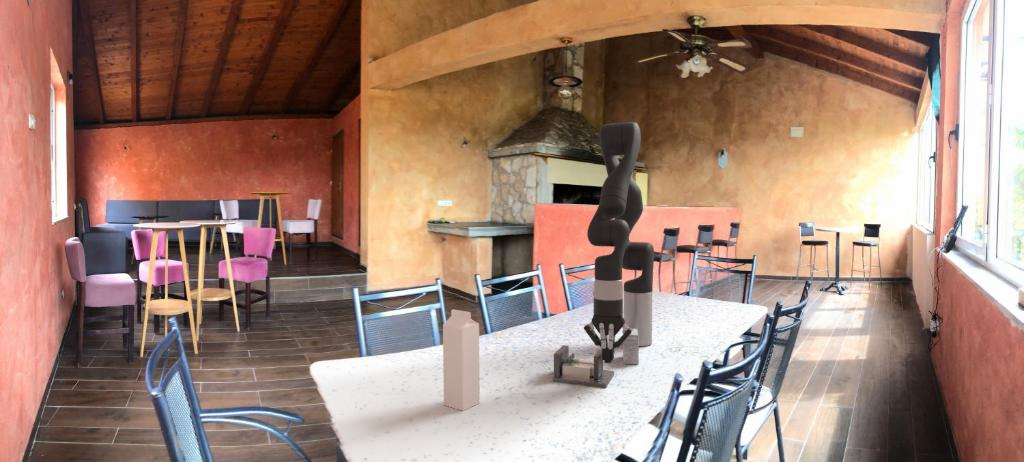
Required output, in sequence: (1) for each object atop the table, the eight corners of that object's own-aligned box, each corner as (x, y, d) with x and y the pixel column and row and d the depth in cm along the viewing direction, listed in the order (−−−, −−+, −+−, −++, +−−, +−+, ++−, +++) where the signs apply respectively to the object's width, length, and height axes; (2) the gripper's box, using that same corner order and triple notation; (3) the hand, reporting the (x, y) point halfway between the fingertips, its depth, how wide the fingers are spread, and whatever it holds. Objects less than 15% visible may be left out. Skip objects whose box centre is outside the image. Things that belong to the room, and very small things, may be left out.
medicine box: (638, 365, 154) (639, 335, 153) (622, 364, 154) (623, 334, 154) (637, 357, 161) (638, 328, 161) (622, 356, 162) (623, 328, 162)
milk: (460, 397, 129) (460, 307, 128) (480, 403, 125) (479, 309, 124) (443, 405, 124) (442, 311, 123) (462, 411, 120) (462, 314, 119)
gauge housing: (564, 368, 150) (564, 344, 150) (614, 374, 145) (614, 349, 145) (552, 381, 140) (552, 354, 140) (605, 388, 135) (606, 360, 134)
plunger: (569, 367, 147) (569, 347, 147) (603, 371, 144) (603, 350, 143) (563, 374, 141) (563, 353, 141) (598, 378, 138) (598, 356, 138)
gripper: (636, 295, 140) (635, 360, 141) (586, 292, 145) (586, 355, 146) (631, 300, 133) (631, 369, 134) (579, 297, 138) (579, 363, 139)
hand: (607, 362), depth 140 cm, fingers closed
